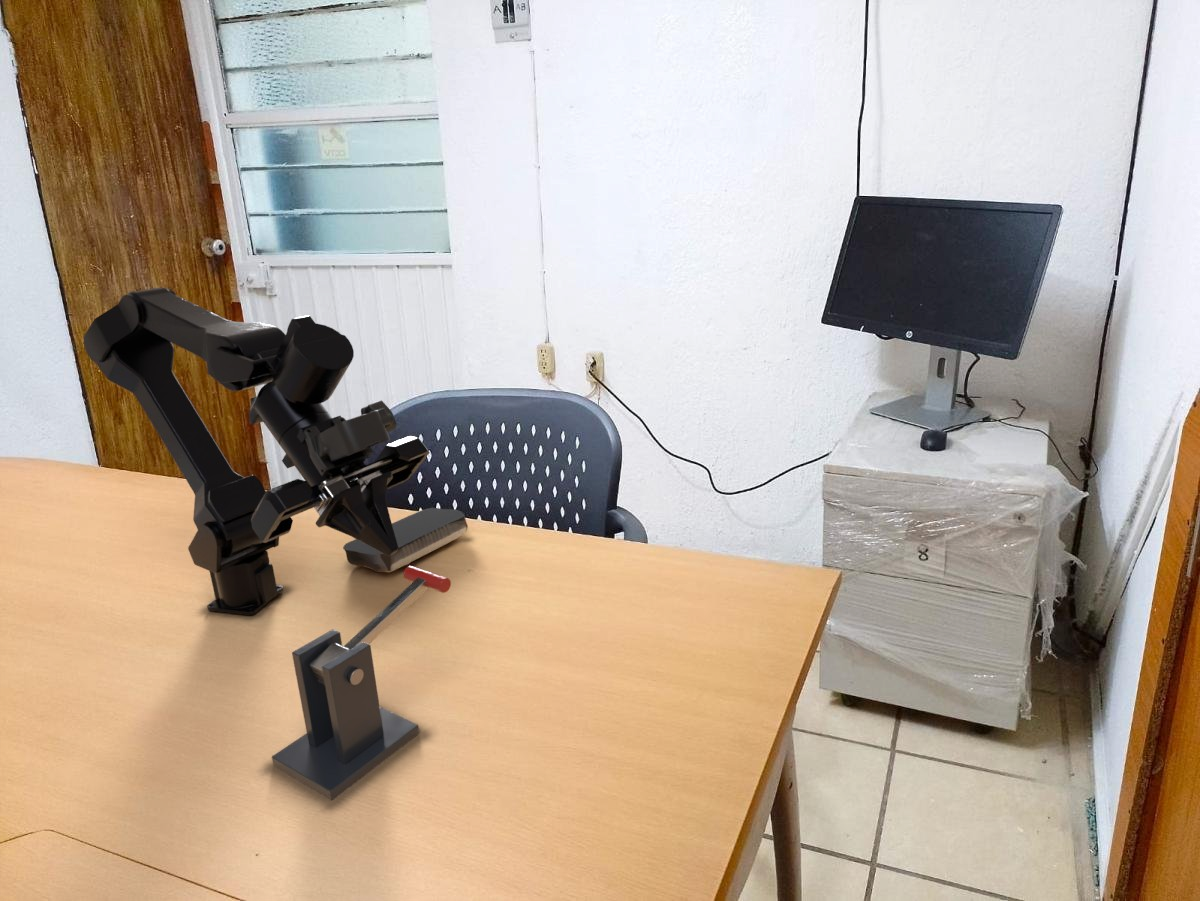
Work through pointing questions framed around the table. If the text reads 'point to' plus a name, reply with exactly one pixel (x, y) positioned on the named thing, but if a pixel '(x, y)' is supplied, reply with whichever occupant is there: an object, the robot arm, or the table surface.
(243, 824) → the table surface
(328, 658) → the lever
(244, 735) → the table surface
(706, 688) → the table surface
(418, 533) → the whiteboard eraser
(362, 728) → the bracket
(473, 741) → the table surface
